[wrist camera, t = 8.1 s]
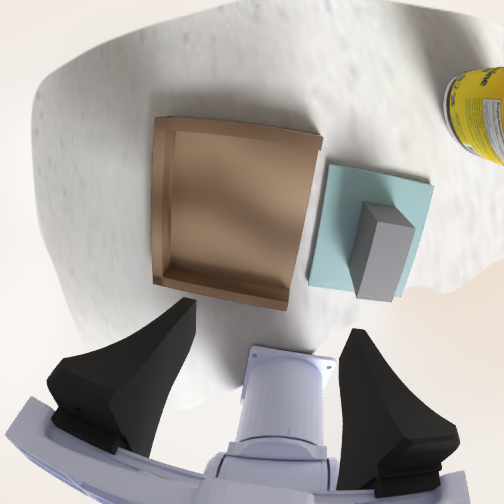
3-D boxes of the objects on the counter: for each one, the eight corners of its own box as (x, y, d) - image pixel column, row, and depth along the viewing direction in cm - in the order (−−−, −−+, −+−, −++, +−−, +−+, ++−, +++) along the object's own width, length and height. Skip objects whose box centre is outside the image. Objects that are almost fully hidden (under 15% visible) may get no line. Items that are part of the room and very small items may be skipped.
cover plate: (397, 290, 22) (414, 329, 18) (308, 279, 23) (309, 319, 18) (428, 183, 18) (460, 203, 14) (328, 162, 19) (338, 177, 14)
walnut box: (287, 294, 23) (286, 311, 21) (163, 270, 24) (153, 283, 22) (320, 135, 18) (323, 137, 16) (169, 116, 18) (155, 117, 17)
